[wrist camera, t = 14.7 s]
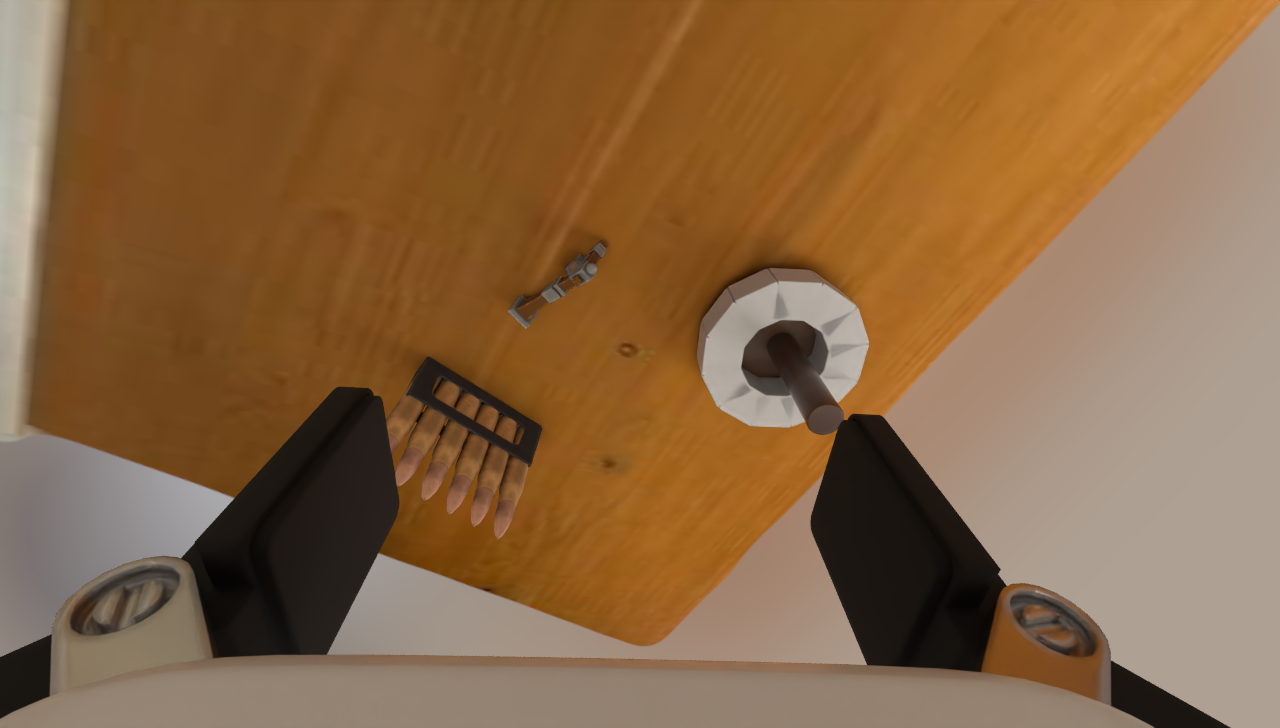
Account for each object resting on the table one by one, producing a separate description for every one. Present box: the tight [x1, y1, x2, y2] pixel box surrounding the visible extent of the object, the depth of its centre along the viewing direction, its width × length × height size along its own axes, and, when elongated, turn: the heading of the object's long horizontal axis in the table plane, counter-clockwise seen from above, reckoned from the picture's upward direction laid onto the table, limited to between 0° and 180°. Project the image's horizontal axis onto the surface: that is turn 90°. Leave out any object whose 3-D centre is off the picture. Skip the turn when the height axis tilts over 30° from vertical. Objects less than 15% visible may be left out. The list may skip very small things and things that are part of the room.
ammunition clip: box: [386, 357, 542, 539], centre depth 38 cm, size 11×2×12 cm, turn 50°
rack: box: [741, 320, 844, 435], centre depth 37 cm, size 8×8×11 cm
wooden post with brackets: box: [508, 240, 608, 328], centre depth 37 cm, size 2×8×4 cm, turn 129°
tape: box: [697, 268, 869, 427], centre depth 39 cm, size 12×12×3 cm
